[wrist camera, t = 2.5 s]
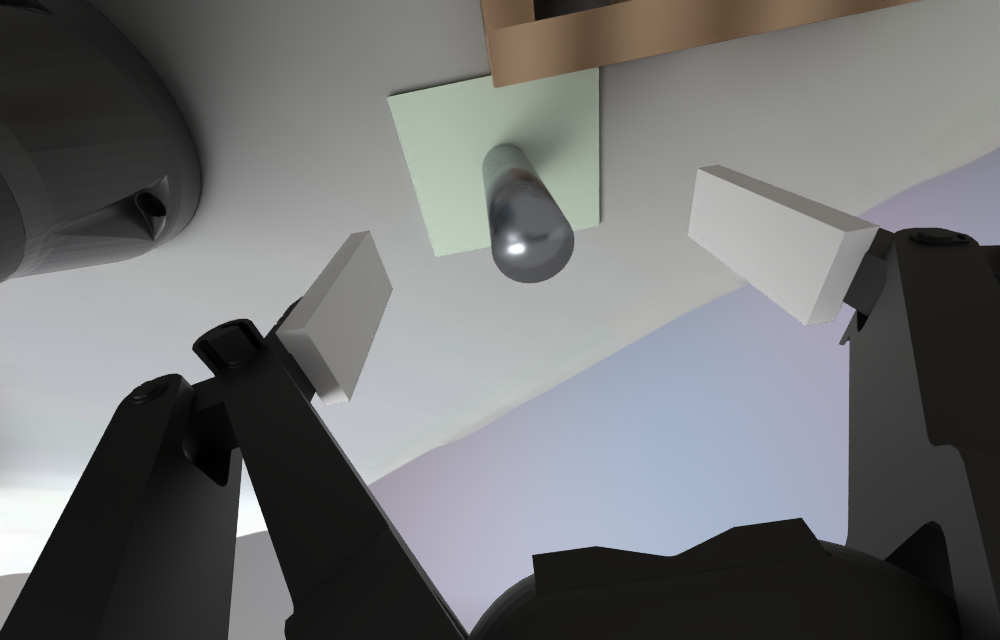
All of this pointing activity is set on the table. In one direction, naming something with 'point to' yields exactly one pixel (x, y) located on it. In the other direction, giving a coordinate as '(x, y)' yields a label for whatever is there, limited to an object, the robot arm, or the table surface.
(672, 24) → the socket block
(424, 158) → the mat
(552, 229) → the pin
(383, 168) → the table surface
